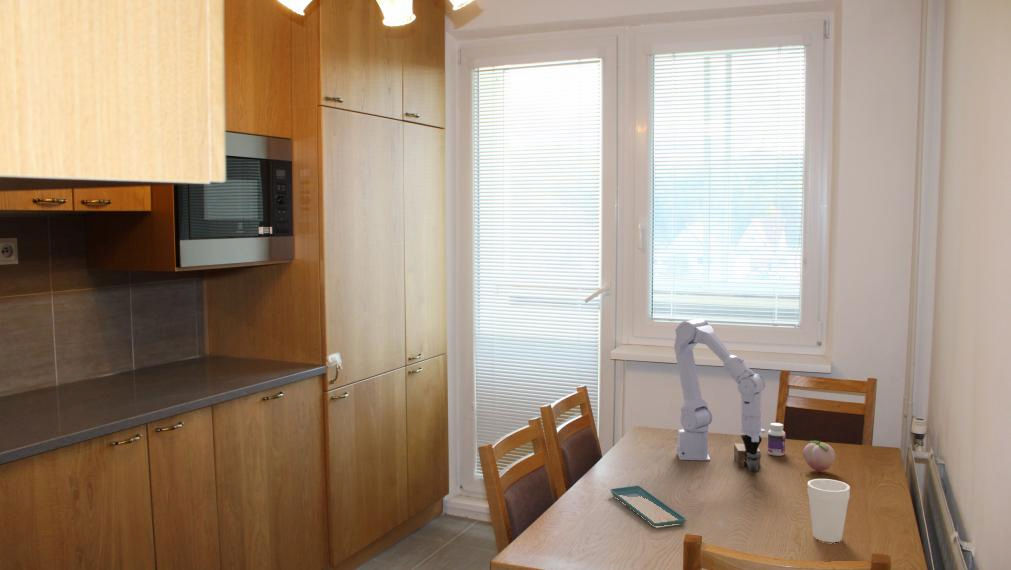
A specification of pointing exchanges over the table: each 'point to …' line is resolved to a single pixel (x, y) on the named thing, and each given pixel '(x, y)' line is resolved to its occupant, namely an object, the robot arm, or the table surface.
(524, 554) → the table surface
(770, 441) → the pill bottle
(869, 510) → the table surface
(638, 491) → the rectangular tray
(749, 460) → the handle rod
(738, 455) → the wooden mallet head
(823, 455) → the decorative fruit
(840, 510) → the foam cup
